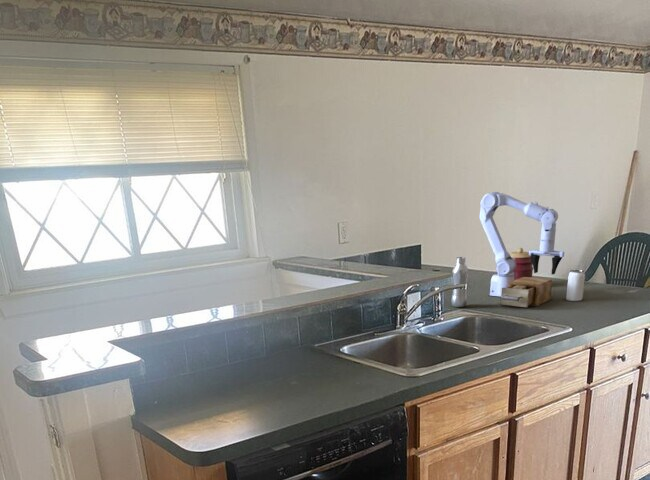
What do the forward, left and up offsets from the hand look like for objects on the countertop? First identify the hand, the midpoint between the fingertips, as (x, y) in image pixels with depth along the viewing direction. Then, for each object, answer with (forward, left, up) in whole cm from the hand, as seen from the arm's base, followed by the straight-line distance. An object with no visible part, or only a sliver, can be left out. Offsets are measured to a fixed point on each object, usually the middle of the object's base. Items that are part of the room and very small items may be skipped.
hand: (544, 273), depth 277 cm
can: (+13, +2, -11) cm, 17 cm away
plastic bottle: (-22, -33, -11) cm, 41 cm away
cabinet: (-2, -9, -10) cm, 14 cm away
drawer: (-2, -20, -9) cm, 22 cm away
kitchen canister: (-20, +19, -11) cm, 30 cm away
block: (-2, -20, -8) cm, 22 cm away
